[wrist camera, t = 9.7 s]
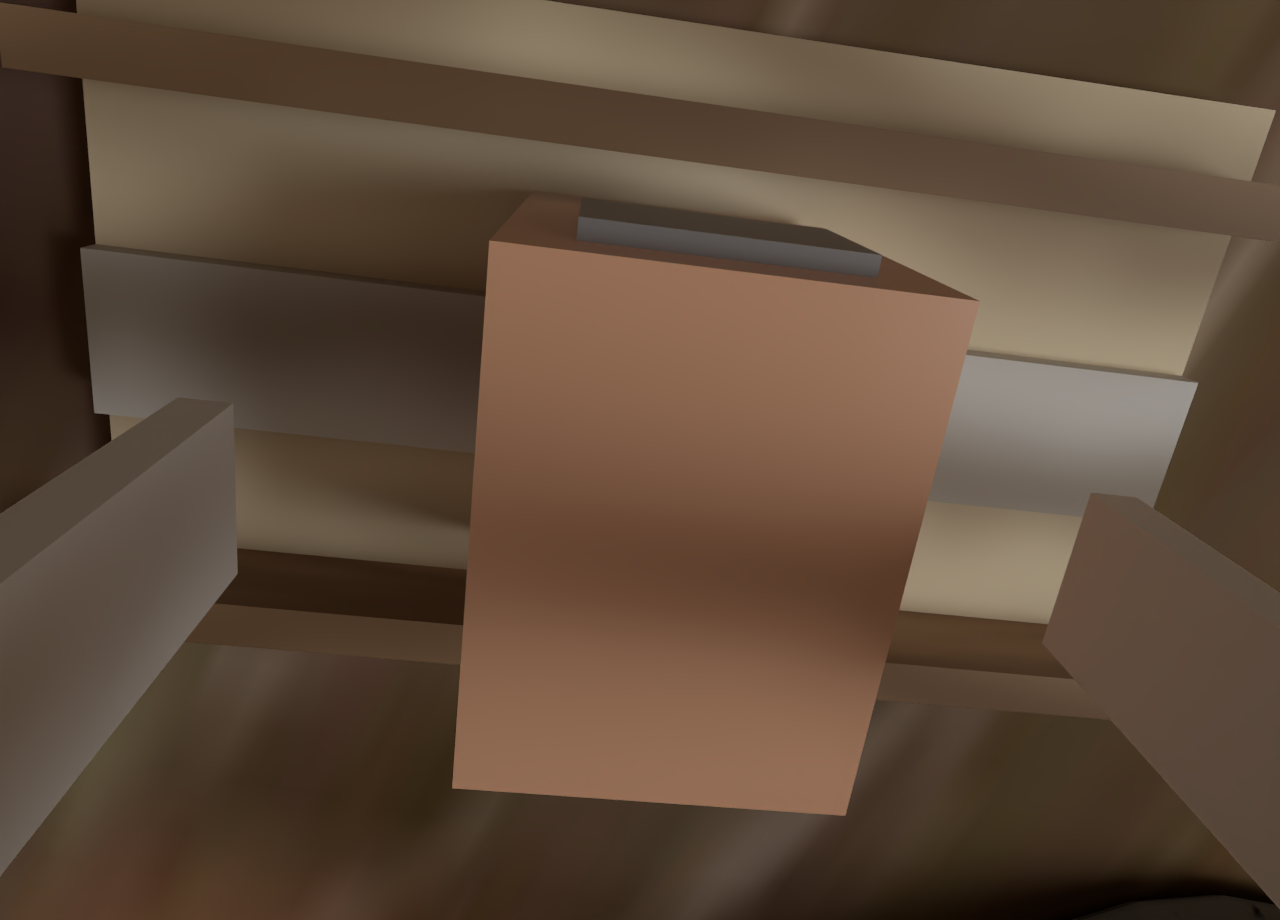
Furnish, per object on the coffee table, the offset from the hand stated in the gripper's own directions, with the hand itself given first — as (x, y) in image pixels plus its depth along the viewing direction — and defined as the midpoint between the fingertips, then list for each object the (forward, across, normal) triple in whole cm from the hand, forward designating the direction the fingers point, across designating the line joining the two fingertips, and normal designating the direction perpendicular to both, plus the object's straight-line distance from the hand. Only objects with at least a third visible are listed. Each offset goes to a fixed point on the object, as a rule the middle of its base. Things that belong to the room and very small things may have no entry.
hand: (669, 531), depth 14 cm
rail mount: (+8, 0, 0) cm, 8 cm away
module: (+6, 0, 0) cm, 6 cm away
